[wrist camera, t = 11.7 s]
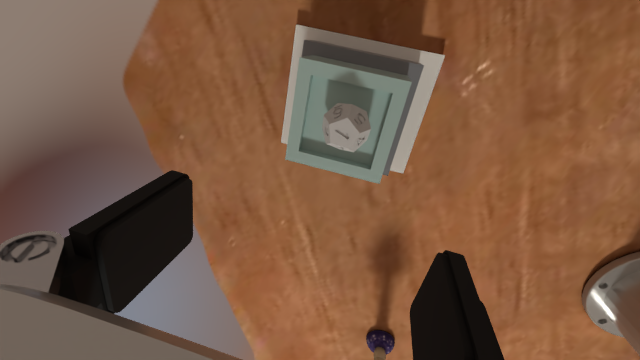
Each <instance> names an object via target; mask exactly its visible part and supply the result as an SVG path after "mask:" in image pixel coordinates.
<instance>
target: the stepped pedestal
mask: <svg viewBox="0 0 640 360" xmlns="http://www.w3.org/2000/svg"><path fill="white" fill-rule="evenodd" d="M444 57H445V55H441V54H436V53H431V52H426V51H421V50H417V49H412V48H407V47H402V46H397V45H393V44H388V43H383V42H378V41H373V40H369V39H364V38H359V37H354V36H349V35H345V34H340V33H335V32H330V31H325V30H321V29H316V28H311V27H306V26H301V25H297V24H296V30H295V38H294V45H293V53H292V61H291V69H290V76H289V84H288V92H287V100H286V107H285V115H284V123H283V131H282V138H281V143H285V144H287V151H286V158H285V159H286V160H290V161H293V162H297V163H301V164H305V165H309V166H313V167H317V168H320V169H324V170H328V171H332V172H336V173H340V174H344V175H347V176H351V177H355V178H359V179H363V180H367V181H370V182H374V183H378V184H380V180H381V177H382V174H383V175H387V176H388V174H389V171H390V170H391V171H395V172H399V173H403V172H404V170H405V167H406V164H407V161H408V158H409V156H410V153H411V150H412V147H413V144H414V141H415V139H416V136H417V133H418V130H419V127H420V125H421V122H422V119H423V116H424V113H425V111H426V108H427V105H428V102H429V99H430V96H431V94H432V91H433V88H434V85H435V82H436V80H437V77H438V74H439V71H440V68H441V66H442V63H443V60H444ZM337 103H344V104H353V105H355V106H357V107H359V108H361V109H363V110H365V111H367V115H368V118H369V122H370V126H371V131H370V133H369V136H368V139H367V141H366V142H365V143H364V144H363V145H361V146H360V147H359V148H358V149H357V150H356V151H355V152H350V151H345V150H341V149H338V148H335V147H333V146H330V145H328V144H326V142H325V138H324V134H323V129H322V124H323V117H324V114H325V113H327V112H328V111H329V110H330V109H331V108H332V107H334V106H335V105H336V104H337Z"/></svg>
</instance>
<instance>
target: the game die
mask: <svg viewBox="0 0 640 360" xmlns="http://www.w3.org/2000/svg"><path fill="white" fill-rule="evenodd" d="M322 129H323V134H324V138H325V142H326V144H328V145H330V146H333V147H335V148H338V149H341V150H345V151H350V152H355V151H356V150H357V149H358V148H359V147H360V146H361V145H363V144H364V143H365V142H366V141H367V139H368V136H369V133H370V131H371V126H370V122H369V118H368V115H367V111H365V110H363V109H361V108H359V107H357V106H355V105H353V104H344V103H337V104H336V105H335V106H334V107H332V108H331V109H330V110H329V111H328V112H327V113H325V114H324V117H323V124H322Z"/></svg>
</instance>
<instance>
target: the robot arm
mask: <svg viewBox="0 0 640 360" xmlns="http://www.w3.org/2000/svg"><path fill="white" fill-rule="evenodd" d="M69 233H70V235H69V236H67V237H66V238H63V237H62V235H61V234H58V233H56V232H51V231H36V232H30V233H25V234H22V235H19V236H16V237H13V238H11V239H9V240H7V241H5V242H3V243H2V244H0V360H242V359H239V358H236V357H234V356H231V355H228V354H225V353H222V352H219V351H217V350H214V349H211V348H208V347H206V346H203V345H200V344H197V343H194V342H192V341H189V340H186V339H183V338H180V337H178V336H175V335H172V334H169V333H166V332H163V331H161V330H158V329H155V328H152V327H149V326H146V325H144V324H141V323H138V322H135V321H132V320H129V319H127V318H123V317H121V316H118V315H115V314H114V313H118V312H120V311H121V310H122V309H124V308H125V307H126V306H127V305H128V304H129V303H130V302H131V301H132V300H133V299H134V298H135V297H136V296H137V295H138V294H139V293H140V292H141V291H142V290H143V289H144V288H145V287H146V286H147V285H148V284H149V283H150V282H151V281H152V280H153V279H154V278H155V277H156V276H157V275H158V274H159V273H160V272H161V271H162V270H163V269H164V268H165V267H166V266H167V265H168V264H169V263H170V262H171V261H172V260H173V259H174V258H175V257H176V256H177V255H178V254H179V253H180V252H181V251H182V250H183V249H184V248H185V247H186V246H187V245H188V244H189V243H190V242H191V240H192V237H193V197H192V180H190V179H189V176H188V175H187V174H184V173H180V172H177V171H169V172H167V173H166V174H164V175H162V176H160V177H159V178H157V179H155V180H153V181H152V182H150V183H148V184H146V185H145V186H143V187H141V188H139V189H138V190H136V191H134V192H132V193H131V194H129V195H127V196H125V197H124V198H122V199H120V200H119V201H117V202H115V203H113V204H112V205H110V206H108V207H106V208H105V209H103V210H101V211H99V212H98V213H96V214H94V215H92V216H91V217H89V218H87V219H85V220H84V221H82V222H80V223H78V224H77V225H75V226H73V227H71V228H70V229H69ZM582 304H583V307H584V310H585V311H586V313H587V314H588V316H589V317H590V319H591V320H592V321H593V322H594V323H595V324H596V325H597V326H599V327H600V328H602V329H603V330H605V331H607V332H609V333H611V334H614V335H617V336H621V337H624V338H625V339H626V340H627V341H628V342H629V344H630V345H631V346H632V347H633V348H634V350H635V351H636V352H637V353H638V355H639V356H640V252H636V253H632V254H629V255H626V256H623V257H621V258H618V259H616V260H614V261H612V262H610V263H609V264H607V265H605V266H604V267H602V268H601V269H600V270H598V271H597V272H596V273H595V274H594V275H593V276H592V277H591V278H590V279H589V280H588V282H587V284H586V285H585V287H584V290H583V293H582ZM410 323H411V336H412V349H413V360H504V357H503V355H502V352H501V349H500V346H499V344H498V341H497V338H496V336H495V333H494V330H493V327H492V325H491V322H490V319H489V316H488V314H487V311H486V308H485V306H484V304H483V303H482V302H481V301H480V299H479V297H478V294H477V291H476V288H475V285H474V283H473V280H472V277H471V274H470V271H469V269H468V266H467V263H466V260H465V258H464V256H463V255H461V254H457V253H454V252H451V251H447V250H445V251H444V252H443V253H438V254H437V255H436V257H435V259H434V261H433V263H432V265H431V267H430V269H429V271H428V273H427V275H426V277H425V279H424V281H423V283H422V285H421V287H420V289H419V291H418V293H417V295H416V297H415V299H414V301H413V303H412V305H411V309H410Z"/></svg>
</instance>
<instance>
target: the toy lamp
mask: <svg viewBox="0 0 640 360" xmlns="http://www.w3.org/2000/svg"><path fill="white" fill-rule="evenodd" d="M366 340H367V344H368V347H369V348H370V350H371V351H372V352H374V360H385V359H386V354H388V353H390V352H391V351H392V349H393V347H394V343H395V342H394V338H393V337H392V335H390V334H389V333H387V332H385V331H381V330H374V331H371V332H369V333H368V334H367V338H366Z"/></svg>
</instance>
